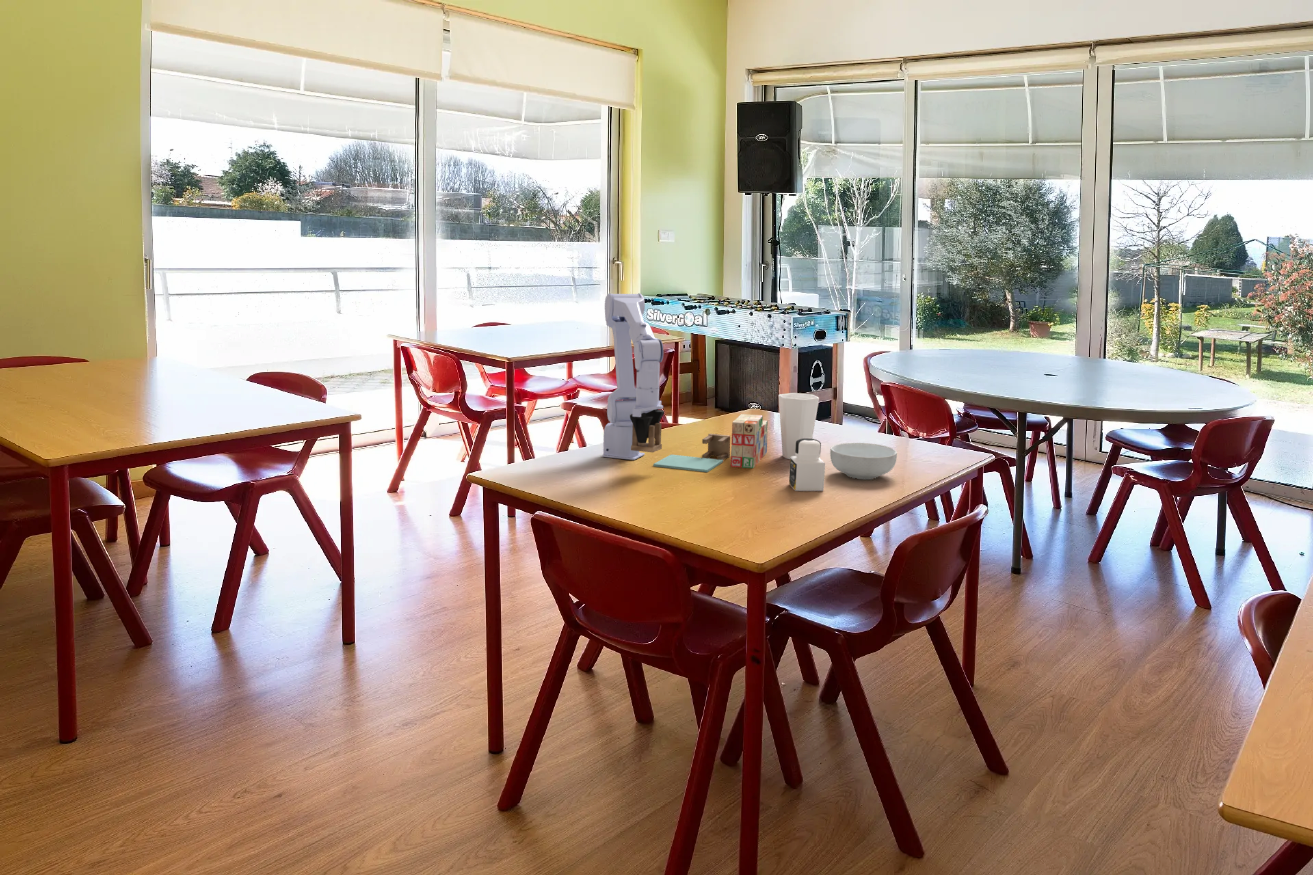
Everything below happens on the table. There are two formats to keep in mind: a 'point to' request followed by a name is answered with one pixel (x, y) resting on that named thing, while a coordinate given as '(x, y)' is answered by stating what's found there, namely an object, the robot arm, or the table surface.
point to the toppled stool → (717, 446)
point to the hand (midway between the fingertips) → (646, 440)
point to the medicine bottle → (807, 466)
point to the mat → (688, 463)
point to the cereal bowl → (863, 459)
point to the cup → (796, 419)
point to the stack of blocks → (748, 440)
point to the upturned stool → (653, 440)
